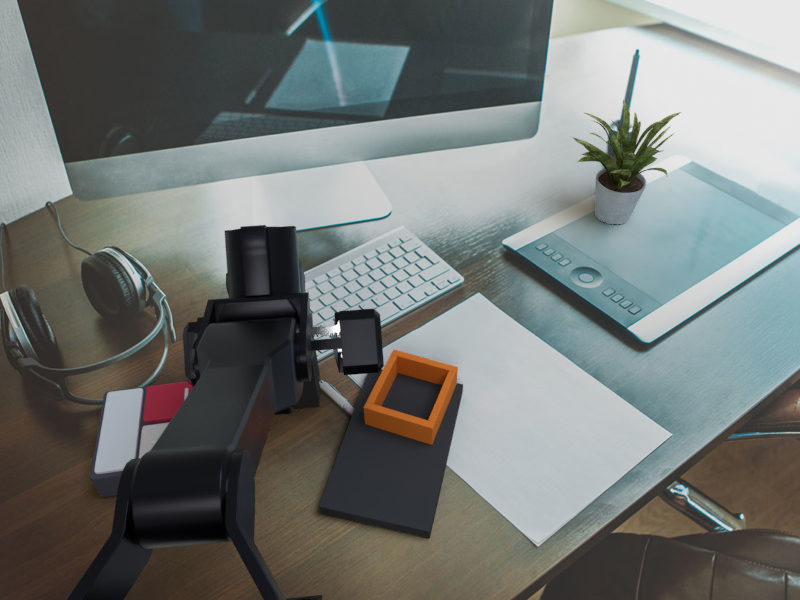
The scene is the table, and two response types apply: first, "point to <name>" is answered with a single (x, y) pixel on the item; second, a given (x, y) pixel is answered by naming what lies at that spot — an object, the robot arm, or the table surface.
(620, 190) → the house plant
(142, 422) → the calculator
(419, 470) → the base pad
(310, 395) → the dark gray block
